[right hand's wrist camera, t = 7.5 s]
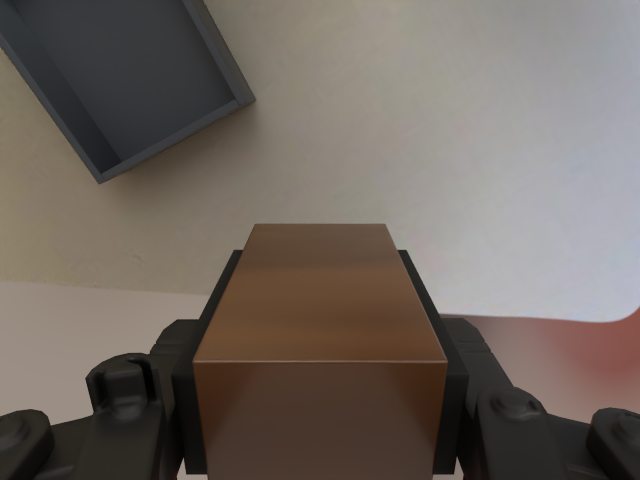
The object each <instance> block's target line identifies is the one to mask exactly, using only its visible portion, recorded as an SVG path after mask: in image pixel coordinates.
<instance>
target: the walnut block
mask: <svg viewBox="0 0 640 480" xmlns="http://www.w3.org/2000/svg"><path fill="white" fill-rule="evenodd" d="M192 364H193V371H194V379H195V386H196V394H197V401H198V409H199V416H200V424H201V431H202V439H203V446H204V454H205V461H206V469H207V476H208V480H432V478H433V471H434V463H435V456H436V448H437V441H438V433H439V426H440V418H441V411H442V403H443V396H444V388H445V381H446V373H447V366H448V360H447V358H446V356H445V354H444V352H443V349H442V347H441V345H440V343H439V341H438V338H437V336H436V334H435V332H434V330H433V327H432V325H431V323H430V321H429V319H428V316H427V314H426V312H425V310H424V308H423V306H422V303H421V301H420V299H419V297H418V295H417V292H416V290H415V288H414V286H413V284H412V281H411V279H410V277H409V275H408V273H407V270H406V268H405V266H404V264H403V262H402V259H401V257H400V255H399V253H398V251H397V249H396V246H395V244H394V242H393V240H392V238H391V235H390V233H389V231H388V229H387V227H386V224H255V225H254V227H253V230H252V232H251V234H250V236H249V238H248V241H247V243H246V245H245V247H244V249H243V252H242V254H241V256H240V258H239V260H238V262H237V265H236V267H235V269H234V271H233V273H232V276H231V278H230V280H229V282H228V284H227V286H226V289H225V291H224V293H223V295H222V297H221V300H220V302H219V304H218V306H217V308H216V311H215V313H214V315H213V317H212V319H211V321H210V324H209V326H208V328H207V330H206V332H205V335H204V337H203V339H202V341H201V343H200V345H199V348H198V350H197V352H196V354H195V356H194V359H193V361H192Z"/></svg>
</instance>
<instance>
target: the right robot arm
mask: <svg viewBox="0 0 640 480" xmlns="http://www.w3.org/2000/svg"><path fill="white" fill-rule="evenodd" d="M397 251H398V253H399V255H400V257H401V259H402V262H403V264H404V266H405V268H406V270H407V273H408V275H409V277H410V279H411V281H412V284H413V286H414V288H415V290H416V292H417V295H418V297H419V299H420V301H421V303H422V306H423V308H424V310H425V312H426V314H427V316H428V319H429V321H430V323H431V325H432V327H433V330H434V332H435V334H436V336H437V338H438V341H439V343H440V345H441V347H442V349H443V352H444V354H445V356H446V358H447V360H448V366H447V373H446V381H445V388H444V396H443V403H442V411H441V418H440V426H439V433H438V441H437V448H436V456H435V463H434V471H433V474H454V471H455V465H456V458H457V457H458V460H459V462H460V465H461V468H462V471H463V474H464V476H463V480H640V414H637V413H634V412H631V411H628V410H625V409H618V408H605V409H599V410H598V411H597V412H596V413H595V414H594V415H593V417H592V420H591V423H590V424H588V423H583V422H579V421H575V420H570V419H566V418H562V417H558V416H555V415H552V414H548V413H547V412H546V410H545V409H544V407H543V406H542V404H541V402H540V401H538V400H537V399H536V398H535V397H534V396H532V395H531V394H530V393H528V392H526V391H524V390H522V389H520V388H517V387H514V386H513V385H512V383H511V382H510V380H509V378H508V377H507V375H506V374H505V372H504V370H503V369H502V367H501V366H500V364H499V362H498V361H497V359H496V358H495V356H494V355H493V353H491V350H490V348H489V347H488V345H487V344H486V343H485V341H484V339H483V337H482V336H481V334H480V332H479V331H478V329H477V328H476V327H474V326H473V325H472V324H470V323H469V322H468V321H466V320H465V319H464V318H440V316H439V314H438V312H437V310H436V308H435V306H434V304H433V302H432V300H431V298H430V296H429V294H428V292H427V290H426V288H425V286H424V284H423V282H422V280H421V278H420V276H419V274H418V272H417V270H416V268H415V266H414V264H413V262H412V260H411V258H410V256H409V254H408V252H407V250H397ZM242 252H243V250H234V251H233V253H232V255H231V257H230V259H229V261H228V263H227V265H226V267H225V269H224V271H223V273H222V275H221V277H220V279H219V281H218V283H217V285H216V286H215V288H214V290H213V292H212V294H211V296H210V298H209V300H208V302H207V304H206V306H205V308H204V310H203V312H202V314H201V316H200V318H199V319H198V320H197V319H195V320H194V319H188V320H187V319H186V320H185V319H184V320H182V319H181V320H180V319H178V320H176V321H174V322H173V323H172V324H170V325H169V326H168V327H167V328H165V329H164V330H163V331H162V333H161V335H160V336H159V338H158V339H157V341H156V344H154V346H153V347H152V349H151V350H150V354H148V355H147V354H144V353H127V354H123V355H118V356H115V357H112V358H110V359H108V360H106V361H103V362H102V363H100V364H99V365H97V366H96V367H95V368H93V369H92V370H91V371H90V373H89V374H88V375H87V377H86V383H87V387H88V391H89V395H90V399H91V403H92V407H93V411H94V413H93V415H91V416H88V417H85V418H81V419H77V420H73V421H69V422H64V423H60V424H56V425H52V426H51V425H50V422H49V419H48V416H47V415H45V414H44V413H43V412H42V411H38V410H33V409H28V410H21V411H15V412H12V413H9V414H6V415H3V416H0V480H177V474H178V471H179V468H180V466H181V463H182V460H183V457H184V463H185V469H186V474H207V469H206V461H205V454H204V446H203V439H202V431H201V424H200V416H199V409H198V401H197V394H196V386H195V379H194V371H193V364H192V361H193V359H194V356H195V354H196V352H197V350H198V348H199V345H200V343H201V341H202V339H203V337H204V335H205V332H206V330H207V328H208V326H209V324H210V321H211V319H212V317H213V315H214V313H215V311H216V308H217V306H218V304H219V302H220V300H221V297H222V295H223V293H224V291H225V289H226V286H227V284H228V282H229V280H230V278H231V276H232V273H233V271H234V269H235V267H236V265H237V262H238V260H239V258H240V256H241V254H242Z"/></svg>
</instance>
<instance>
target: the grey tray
mask: <svg viewBox="0 0 640 480" xmlns="http://www.w3.org/2000/svg"><path fill="white" fill-rule="evenodd" d="M0 46H1V48H2V49H3V51H4V52H5V53H6V55H7V56H8V58H9V59H10V60H11V62H12V63H13V65H14V66H15V67H16V69H17V70H18V72H19V73H20V74H21V76H22V77H23V79H24V80H25V81H26V83H27V84H28V86H29V87H30V88H31V90H32V91H33V93H34V94H35V95H36V97H37V98H38V100H39V101H40V102H41V104H42V105H43V107H44V108H45V109H46V111H47V112H48V113H49V115H50V116H51V118H52V119H53V120H54V122H55V123H56V125H57V126H58V127H59V129H60V130H61V132H62V133H63V134H64V136H65V137H66V139H67V140H68V141H69V143H70V144H71V146H72V147H73V148H74V150H75V151H76V153H77V154H78V155H79V157H80V158H81V160H82V161H83V162H84V164H85V165H86V167H87V168H88V169H89V171H90V172H91V174H92V175H93V176H94V178H95V179H96V181H97V182H98V183H99V184H101V183H104V182H106V181H108V180H110V179H112V178H114V177H116V176H118V175H120V174H123V173H125V172H127V171H128V170H130V169H132V168H134V167H136V166H137V165H139V164H141V163H143V162H145V161H147V160H148V159H150V158H152V157H154V156H156V155H157V154H159V153H161V152H163V151H165V150H166V149H168V148H170V147H172V146H174V145H175V144H177V143H179V142H181V141H183V140H184V139H186V138H188V137H190V136H192V135H194V134H195V133H197V132H199V131H201V130H203V129H204V128H206V127H208V126H210V125H212V124H213V123H215V122H217V121H219V120H221V119H222V118H224V117H226V116H228V115H230V114H231V113H233V112H235V111H237V110H239V109H241V108H242V107H244V106H246V105H248V104H250V103H251V102H253V101H255V100H256V99H255V97H254V95H253V93H252V91H251V89H250V88H249V86H248V84H247V82H246V80H245V78H244V76H243V74H242V73H241V71H240V69H239V67H238V65H237V63H236V61H235V60H234V58H233V56H232V54H231V52H230V50H229V48H228V46H227V45H226V43H225V41H224V39H223V37H222V35H221V33H220V32H219V30H218V28H217V26H216V24H215V22H214V20H213V18H212V17H211V15H210V13H209V11H208V9H207V7H206V5H205V4H204V2H203V0H0Z"/></svg>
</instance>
